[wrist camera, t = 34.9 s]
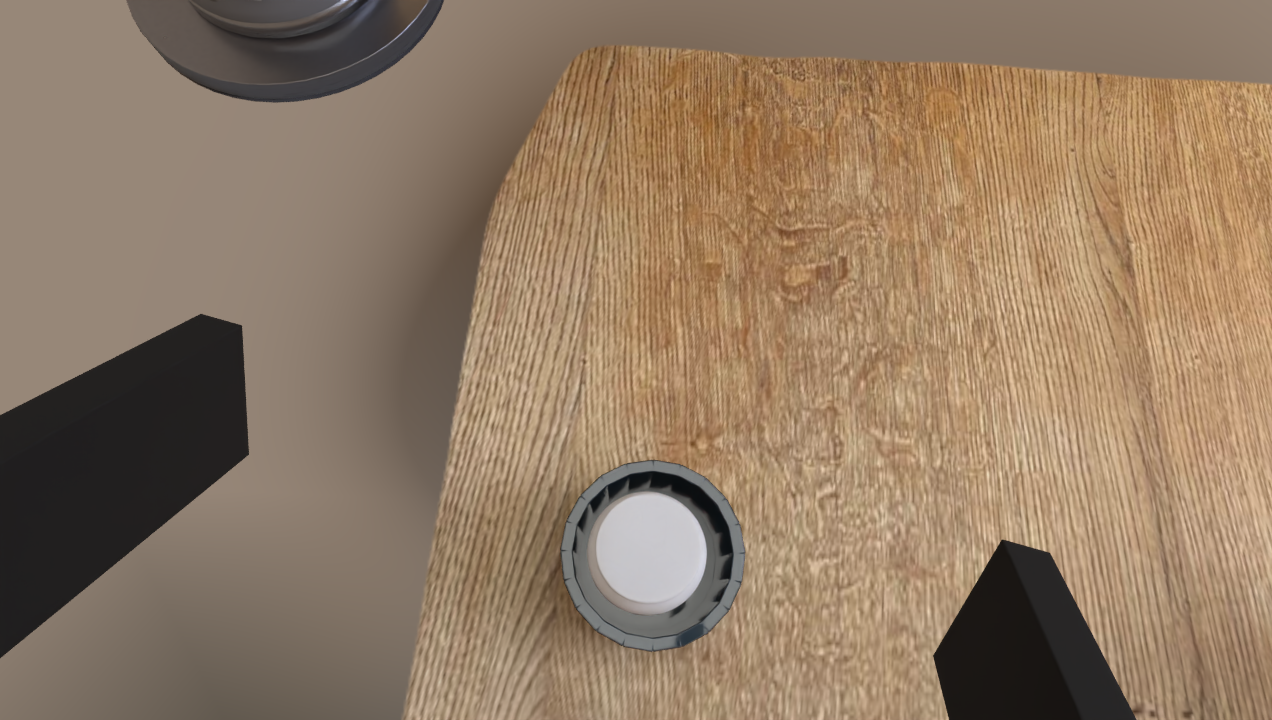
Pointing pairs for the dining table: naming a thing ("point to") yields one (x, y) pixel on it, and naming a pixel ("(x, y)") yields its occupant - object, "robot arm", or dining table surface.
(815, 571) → the dining table surface
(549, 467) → the dining table surface
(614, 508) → the pill bottle
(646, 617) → the tube
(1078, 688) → the robot arm
